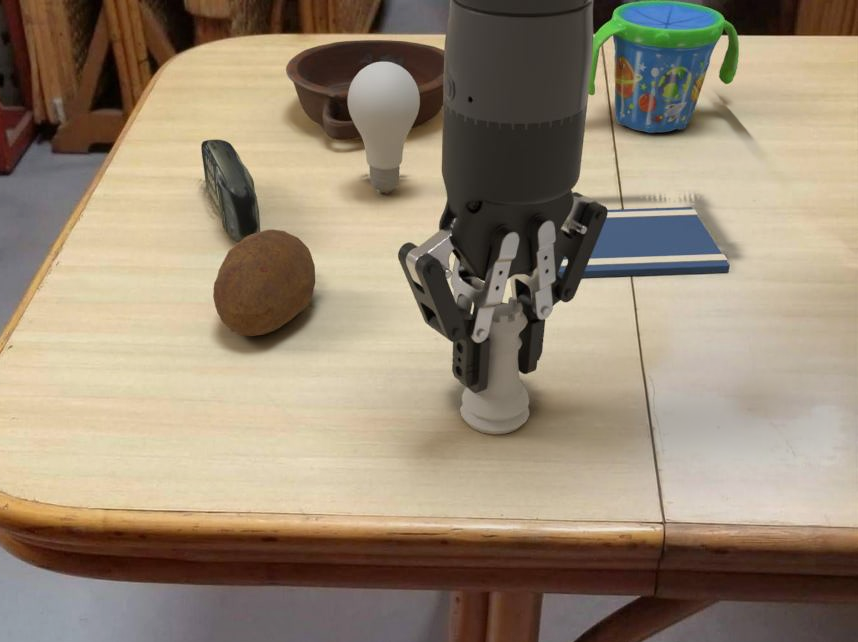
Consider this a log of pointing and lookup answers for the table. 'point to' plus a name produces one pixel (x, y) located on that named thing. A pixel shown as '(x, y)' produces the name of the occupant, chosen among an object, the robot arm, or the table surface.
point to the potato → (264, 282)
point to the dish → (339, 64)
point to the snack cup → (662, 61)
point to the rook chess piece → (500, 377)
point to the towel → (653, 245)
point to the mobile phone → (231, 188)
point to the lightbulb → (383, 118)
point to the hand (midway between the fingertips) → (497, 375)
